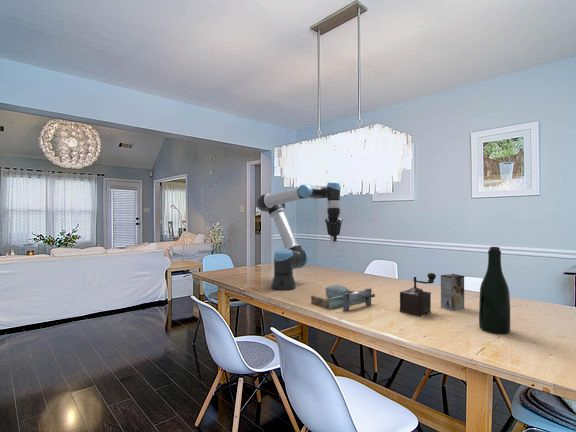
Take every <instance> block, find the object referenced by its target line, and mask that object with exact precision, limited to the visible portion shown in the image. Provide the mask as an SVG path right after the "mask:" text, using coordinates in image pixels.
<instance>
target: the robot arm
mask: <svg viewBox="0 0 576 432" xmlns="http://www.w3.org/2000/svg"><path fill="white" fill-rule="evenodd" d="M326 184H327V185H323V186H321V185H320V186H319V185H312V184H306V183H305V184H300V186H297V187H295V188H291V189H286V190H282V191H279V192H275V193H264V194H261V195H259V196H258V197H257V199H256V201H255V203H256V207H257V208H258V210H259V211H261V212H264V213H266V212H267V213H268V215H269V217H271V218H273V219H272V220H273V221H274V224H275V226H276V229H277V231H278V234H279V236H280V238H281V241H282V243H283V246H284V248H285V249H279V250H276V251H275V252H274V256H273V262H274V263H273V269H274V270H273V273H274V274H273V278H272V281H271V286H270V287H271V289H272V290H277V291H291V290H294V289H296V282H295V278H294V275H293V274H294V272H293V271H294V270H296V269H301V268H303V267H305V266H307V264H308V263H309V259H310V258H309V257H310V256H309V254H308V252H307V251H306V250H305V249H303V248H302V245H301V244H298V242H297V240H296V237H295V235H294V233H293V230H292V228H291V225H290V223H289V221H288V219H287V216H286V203H290V202H294V201H299V200H304V199H307V198H308V199H309V198H310V199H316V200H317V199H326V200H327V201H326V202H327V209H326V210H327V212H326V213H327V218H326V219H324V221H325V225H326V231H327V235H330V247H331V248H336V247H337V241H338V237H337V236H339V235H341V234H340V232H341V227H342V223H343V220H344V219H342V218H341V217H340V214H341V209H340V207H341V199H340V198H341V184H340V182H338V181H328V182H327V183H326Z"/></svg>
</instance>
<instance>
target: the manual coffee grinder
mask: <svg viewBox="0 0 576 432" xmlns="http://www.w3.org/2000/svg"><path fill="white" fill-rule="evenodd" d="M427 278H428V280H427V281H421V280H417V276H414V277H413V287H411V288H409V289H406V290H403V291H400V292H399V312H400V313H404V314H408V315H410V316H411V315H412V316H415V317H424V316H426V315H428V314H430V313H431V312H432V310H431V309H432V305H431V304H432V303H431V301H432V300H431V299H432V297H431V295H432V294H431V293H432V292H431V291H424V290H423V288H418V287H417V283H419V284H424V285H426V284H430V285H431V284H434V283H435V279H436V278H437V275H436V274H435V273H434V272H429V273H428V274H427Z"/></svg>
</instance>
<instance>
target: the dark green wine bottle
mask: <svg viewBox="0 0 576 432" xmlns="http://www.w3.org/2000/svg"><path fill="white" fill-rule="evenodd" d="M487 255H488V257H487V259H488V261H487V269H486V272H485V275H484V277H483V278H482V281H481V284H480V288H479V300H478V301H479V304H478V306H479V307H478V309H479V310H478V326H479V328H480V330H483V331H484V332H488V333H491V334H497V335H506V334H509V333H510V332H511V295H510V289H509V285H508V283H507V280H506V278H505V275H504V273H503V268H502V251H501V249H500V247H499V246H489V249H488V251H487Z"/></svg>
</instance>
